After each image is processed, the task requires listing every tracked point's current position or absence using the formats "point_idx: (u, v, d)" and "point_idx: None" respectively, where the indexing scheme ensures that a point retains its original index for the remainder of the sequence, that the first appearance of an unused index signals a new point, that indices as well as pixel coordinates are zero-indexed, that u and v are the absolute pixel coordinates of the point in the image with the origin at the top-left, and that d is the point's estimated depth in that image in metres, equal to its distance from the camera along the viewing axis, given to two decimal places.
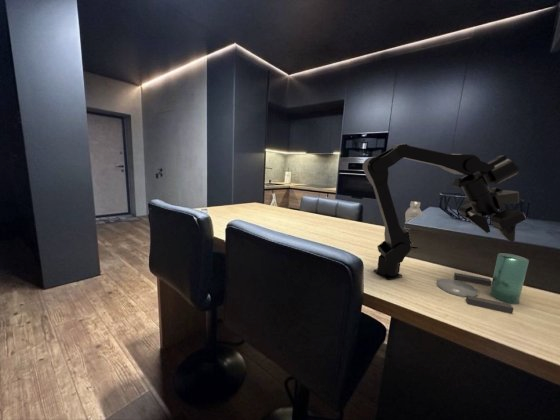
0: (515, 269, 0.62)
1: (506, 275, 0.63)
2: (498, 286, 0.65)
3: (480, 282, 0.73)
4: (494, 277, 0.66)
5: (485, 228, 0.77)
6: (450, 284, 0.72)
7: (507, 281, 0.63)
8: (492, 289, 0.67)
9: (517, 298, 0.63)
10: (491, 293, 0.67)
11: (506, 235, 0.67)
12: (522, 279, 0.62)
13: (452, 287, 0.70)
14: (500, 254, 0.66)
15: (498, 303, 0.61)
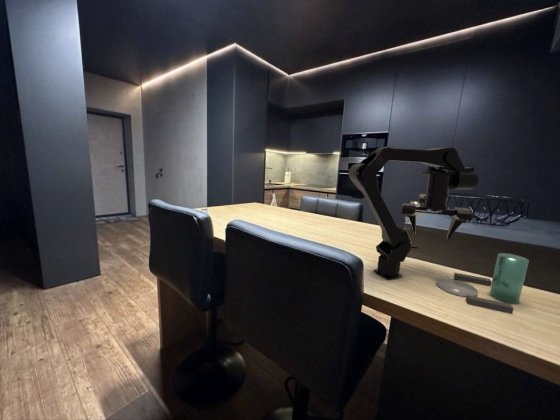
0: (515, 269, 0.62)
1: (506, 275, 0.63)
2: (498, 286, 0.65)
3: (480, 282, 0.73)
4: (494, 277, 0.66)
5: (415, 230, 0.78)
6: (450, 284, 0.72)
7: (507, 281, 0.63)
8: (492, 289, 0.66)
9: (517, 298, 0.63)
10: (491, 293, 0.67)
11: None
12: (522, 279, 0.62)
13: (452, 287, 0.70)
14: (500, 254, 0.66)
15: (498, 303, 0.61)
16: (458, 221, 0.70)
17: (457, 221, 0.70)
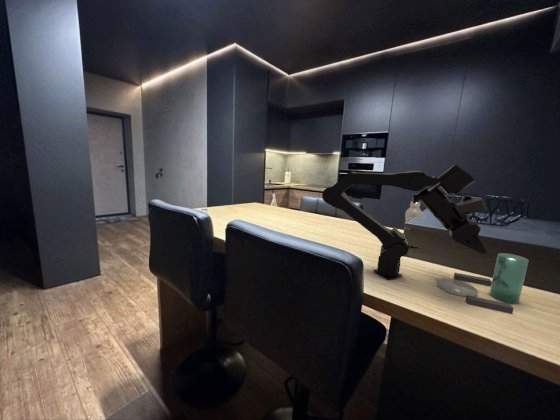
0: (515, 269, 0.62)
1: (506, 275, 0.63)
2: (498, 286, 0.65)
3: (480, 282, 0.73)
4: (494, 277, 0.66)
5: None
6: (450, 284, 0.72)
7: (507, 281, 0.63)
8: (492, 289, 0.67)
9: (517, 298, 0.63)
10: (491, 293, 0.67)
11: (472, 247, 0.63)
12: (522, 279, 0.62)
13: (452, 287, 0.70)
14: (500, 254, 0.66)
15: (498, 303, 0.61)
16: None
17: None
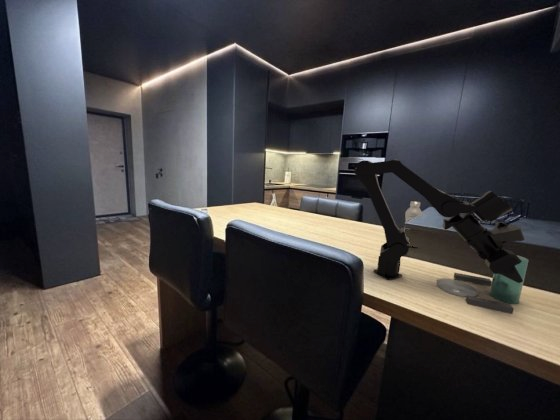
0: None
1: None
2: (498, 286, 0.65)
3: (480, 282, 0.73)
4: (494, 277, 0.66)
5: None
6: (450, 284, 0.72)
7: (507, 281, 0.63)
8: (492, 289, 0.66)
9: (517, 298, 0.63)
10: (491, 293, 0.67)
11: (508, 276, 0.61)
12: (522, 279, 0.62)
13: (452, 287, 0.70)
14: None
15: (498, 303, 0.61)
16: None
17: None
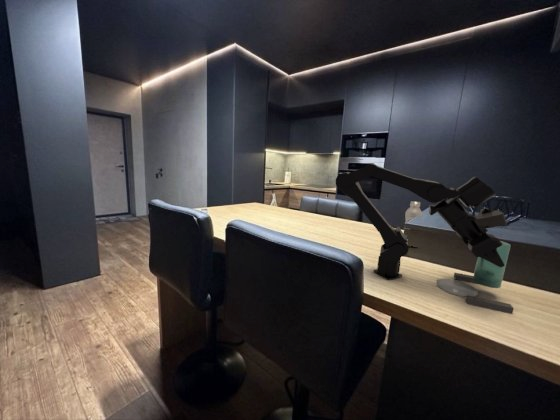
0: None
1: None
2: (481, 271, 0.66)
3: None
4: (477, 262, 0.67)
5: None
6: (450, 284, 0.72)
7: (489, 265, 0.64)
8: (475, 274, 0.68)
9: (499, 282, 0.64)
10: (474, 278, 0.68)
11: (490, 260, 0.63)
12: (504, 263, 0.63)
13: (452, 287, 0.70)
14: None
15: (498, 303, 0.61)
16: None
17: None
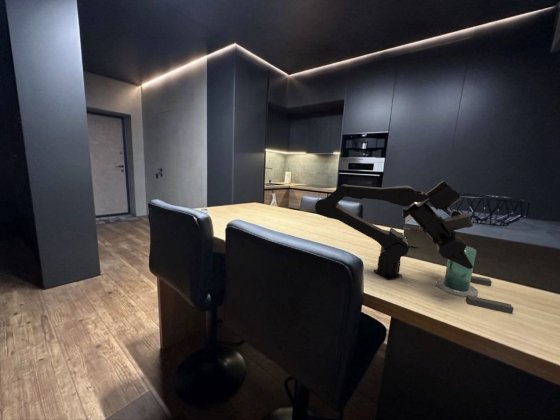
0: None
1: (456, 265, 0.67)
2: (450, 276, 0.69)
3: (480, 282, 0.73)
4: (447, 267, 0.70)
5: None
6: None
7: (457, 270, 0.67)
8: (445, 278, 0.71)
9: (466, 286, 0.67)
10: (445, 282, 0.71)
11: (459, 262, 0.64)
12: None
13: None
14: None
15: (498, 303, 0.61)
16: None
17: None
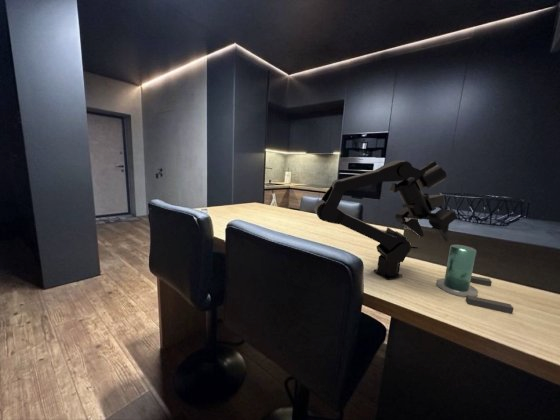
0: (463, 259, 0.66)
1: (456, 265, 0.67)
2: (450, 276, 0.69)
3: (480, 282, 0.73)
4: (447, 267, 0.71)
5: (420, 232, 0.80)
6: None
7: (457, 270, 0.67)
8: (445, 278, 0.71)
9: (466, 286, 0.67)
10: (445, 282, 0.71)
11: (442, 235, 0.70)
12: (470, 268, 0.66)
13: None
14: (452, 245, 0.70)
15: (498, 303, 0.61)
16: (434, 228, 0.68)
17: (433, 228, 0.69)
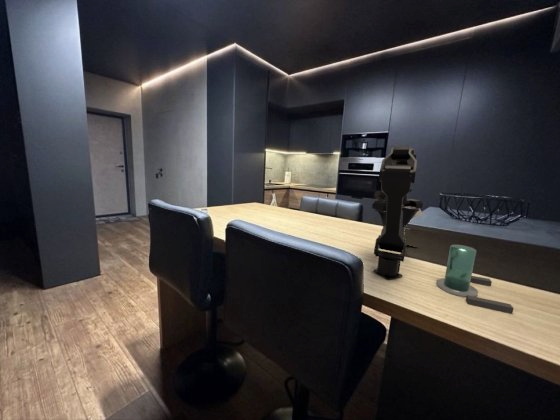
0: (463, 259, 0.66)
1: (456, 265, 0.67)
2: (450, 276, 0.69)
3: (480, 282, 0.73)
4: (447, 267, 0.71)
5: None
6: None
7: (457, 270, 0.67)
8: (445, 278, 0.71)
9: (466, 286, 0.67)
10: (445, 282, 0.71)
11: None
12: (470, 268, 0.66)
13: None
14: (452, 245, 0.70)
15: (498, 303, 0.61)
16: (416, 210, 0.85)
17: (415, 210, 0.85)
